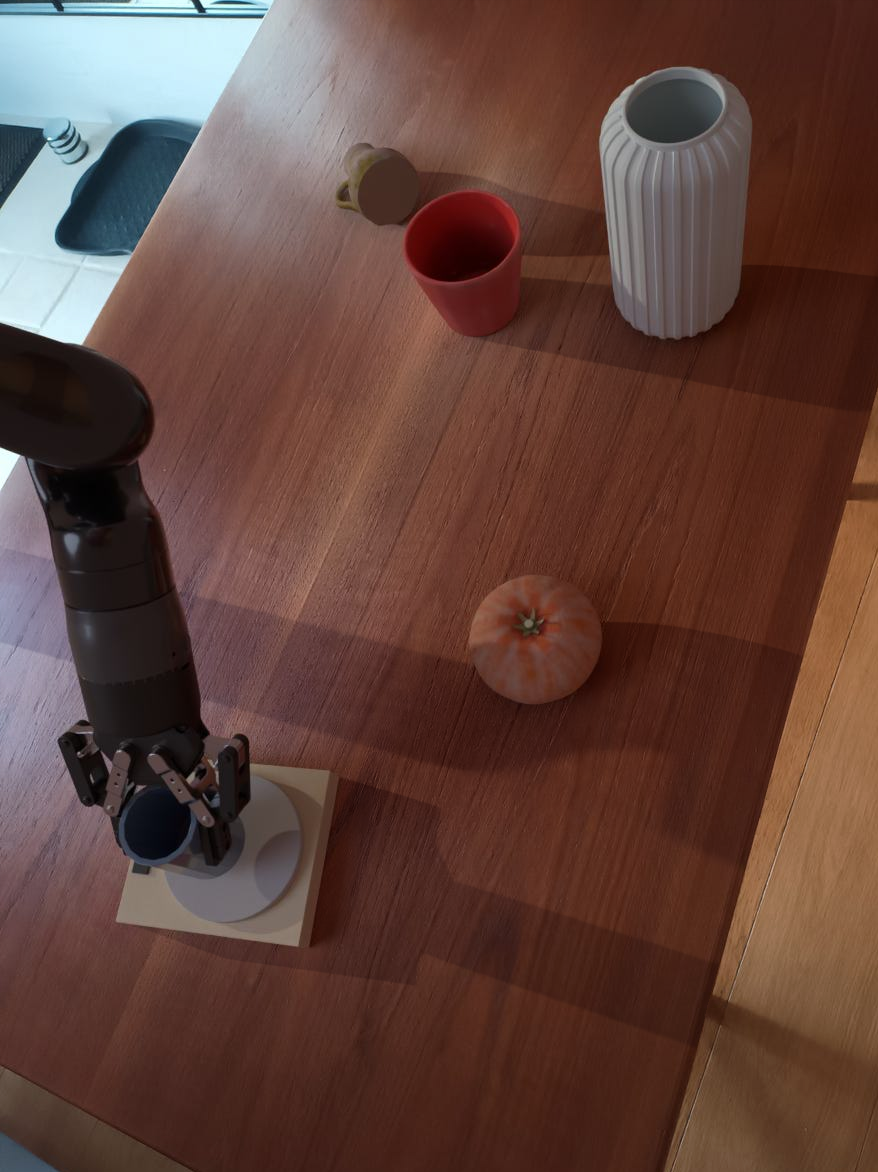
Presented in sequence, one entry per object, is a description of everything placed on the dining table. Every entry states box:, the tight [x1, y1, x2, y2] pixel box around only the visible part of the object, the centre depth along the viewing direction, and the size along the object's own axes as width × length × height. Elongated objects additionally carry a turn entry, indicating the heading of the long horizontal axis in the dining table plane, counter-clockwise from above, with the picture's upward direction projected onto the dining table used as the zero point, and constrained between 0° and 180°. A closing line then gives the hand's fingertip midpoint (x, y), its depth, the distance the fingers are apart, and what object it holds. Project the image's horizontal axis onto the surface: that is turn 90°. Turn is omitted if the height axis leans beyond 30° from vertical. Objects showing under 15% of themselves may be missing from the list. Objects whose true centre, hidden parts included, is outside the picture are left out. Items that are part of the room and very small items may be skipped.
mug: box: [333, 142, 421, 227], centre depth 102 cm, size 8×10×10 cm
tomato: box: [468, 574, 603, 705], centre depth 80 cm, size 11×11×8 cm
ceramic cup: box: [119, 785, 245, 880], centre depth 75 cm, size 6×6×8 cm
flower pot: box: [401, 189, 523, 338], centre depth 93 cm, size 11×11×10 cm
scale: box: [115, 758, 340, 949], centre depth 82 cm, size 16×14×3 cm
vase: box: [598, 65, 753, 341], centre depth 83 cm, size 12×12×22 cm
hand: (176, 854), depth 74 cm, fingers closed on ceramic cup, 6 cm apart
